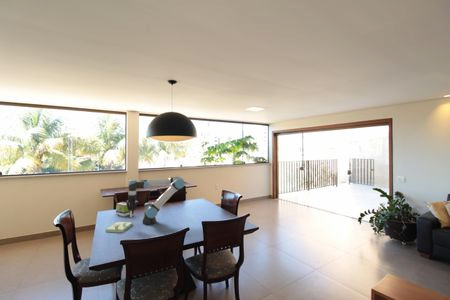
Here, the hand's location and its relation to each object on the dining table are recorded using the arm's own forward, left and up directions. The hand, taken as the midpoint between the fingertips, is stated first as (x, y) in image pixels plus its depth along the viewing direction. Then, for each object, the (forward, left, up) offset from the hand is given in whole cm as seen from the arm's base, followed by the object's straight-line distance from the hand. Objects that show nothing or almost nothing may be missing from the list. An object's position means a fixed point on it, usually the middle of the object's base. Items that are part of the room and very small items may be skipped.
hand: (131, 216), depth 222 cm
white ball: (+8, 0, -8) cm, 11 cm away
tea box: (+34, -46, -13) cm, 59 cm away
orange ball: (+11, +9, -8) cm, 16 cm away
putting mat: (+12, 0, -13) cm, 18 cm away
